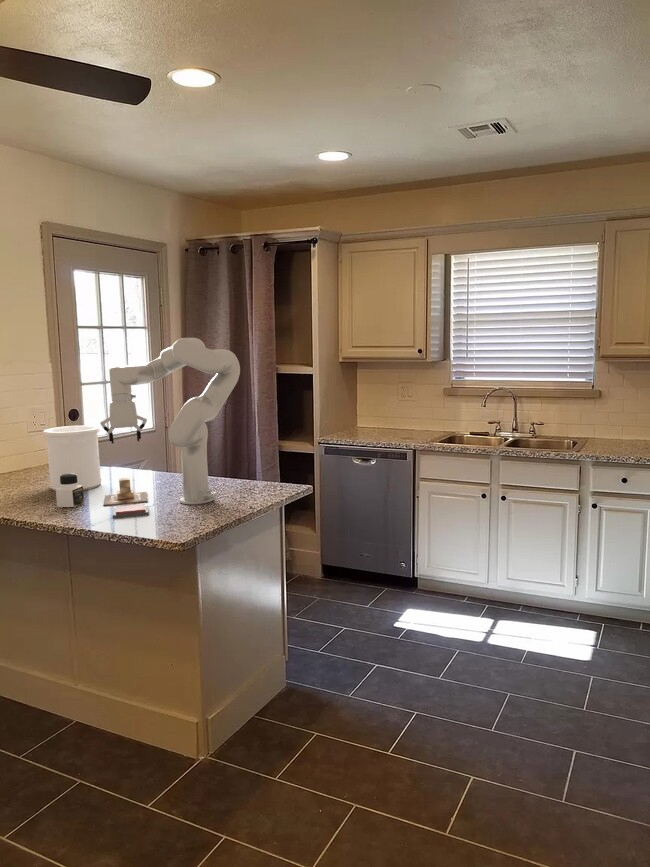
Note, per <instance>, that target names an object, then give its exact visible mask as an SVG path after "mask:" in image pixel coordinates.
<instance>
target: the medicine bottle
mask: <svg viewBox="0 0 650 867" xmlns="http://www.w3.org/2000/svg"><path fill="white" fill-rule="evenodd" d="M60 484H61V486H62V487H60V488H57V489H56V491H55V496H56V507H57V508H63V507H75V508H76V506H77V507H78V505H79V506H81V505H84V504H85V497H84V490H83V486H82V485H77V484H78V482H77V475H76V474H63V475H61V476H60ZM80 504H81V505H80Z"/></svg>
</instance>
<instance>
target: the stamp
mask: <svg viewBox="0 0 650 867" xmlns="http://www.w3.org/2000/svg"><path fill="white" fill-rule="evenodd" d="M118 483H119V490H116V491H117V496H118V500H127V499H133V498H134V493H135V492H134V489H132V488H131V487H132V486H131V478H130V477H123V478H121V477H120V478H118Z"/></svg>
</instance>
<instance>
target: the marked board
mask: <svg viewBox="0 0 650 867" xmlns="http://www.w3.org/2000/svg"><path fill="white" fill-rule="evenodd" d="M147 492H148V491H141V492H140V491H139V492H134V498H133V499H127V500H118V496H117V494H108V495H107V494H106V495H104V500H103V507H111V506H110V505H113V506H121V505H122V506H124V505H131V504H132V505H135V504H145V503H148V502H149V501H148V493H147ZM144 502H145V503H144ZM123 504H124V505H123Z"/></svg>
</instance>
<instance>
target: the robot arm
mask: <svg viewBox="0 0 650 867" xmlns="http://www.w3.org/2000/svg"><path fill="white" fill-rule="evenodd" d="M186 366H187V367H190V368H193V369H195V370H198V371H200V372H203V373H205V374H209V375H214V377H212V379H210V381H209V382H208V384H207V386H206V387H205V389H204V391H203V392H202V393H201V394H200V395H199V396H195V397H192V398H190V399H188V400H187V401H186V402H185V403H184V404H183V406H182V407H181V409H180V410H179V412H178V413H177V415H176V416H175V418H174V420H173V421H172V423H171V425H170V427H169V430H168V438H169V441H170V443H171V444H172V445H173V446H174V447H176V448H181V452H180V454H181V455H180V457H181V459H180V461H181V474H182V475H181V477H182V478H181V479H182V492H183V496H182V497H180V498H179V503H181V504H183V505H203V504H207V503H210V502H212V501H214V500H215V499H216V497H217V495H218V494H217V492H212V488H211V487H210V488H209V472H208V470H209V469H208V446H207V445H208V438H209V437H208V436H209V435H208V434H209V431H208V426H207V424H206V422H210V421H212V420H214V419H215V418H216V417H217V416H218V414H219V412H220V411H221V409H222V408H223V406H224V404H225V403H226V401H227V399H228V398H229V396H230V395H231V393H232V391H233V390H234V388H235V387H236V385H237V383H238V381H239V377H240V374H241V367H240V366H241V365H240V362H239V359H238V357H237V356H236V354H235V353H234V352H233V351H231V350H228V349H224V348H223V349H222V348H218V349H210V348H207V347H206V345H205V343H204V341H202V340H201V339H200V338H198V337H197V338H196V337H182V338H179V339H177V340H176V341H174V343H173V344H172V345H171V346H170V347H167V348H165V349H163V350H162V351H161V352H160V354H159V357H157V358H155V359H154V360H152V361H149V362H146V363H141V364H132V365H113V366H111V367H110V368H109V381H110V382H109V383H110V393H111V396H110V397H111V401H110V402H109V417H107V418H105V419H104V420H102V421H100V423H99V424H100V426H101V427H102V429H103V430H104V431H105V432H107V433H108V437H109V442H111V444H114V443H115V442H114V433H113V431H114V430H115V429H123V428H135V429H136V441H137V442H140V440H141V439H142V435H141V431H142V430H143V428H144V427H145V425H146V424H147V421H148V419H147V418H145V417H143V416H140V415H138V413H137V407H136V403H135V400H133V399H134V398H135V399H136V397H137V395H136V394H134V393H132V386H138V385H144V384H149V383H153V382H154V381H157V380H160V379H162V378H164V377H166V376H168V375H170V374H171V373H173V372H176V371H178V370H180V369H181V368H184V367H186ZM138 420H140V421H142V422H141V424H140V425H138V423H139V422H138ZM107 423H109V424H110V427H108V426H106V424H107Z"/></svg>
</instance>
